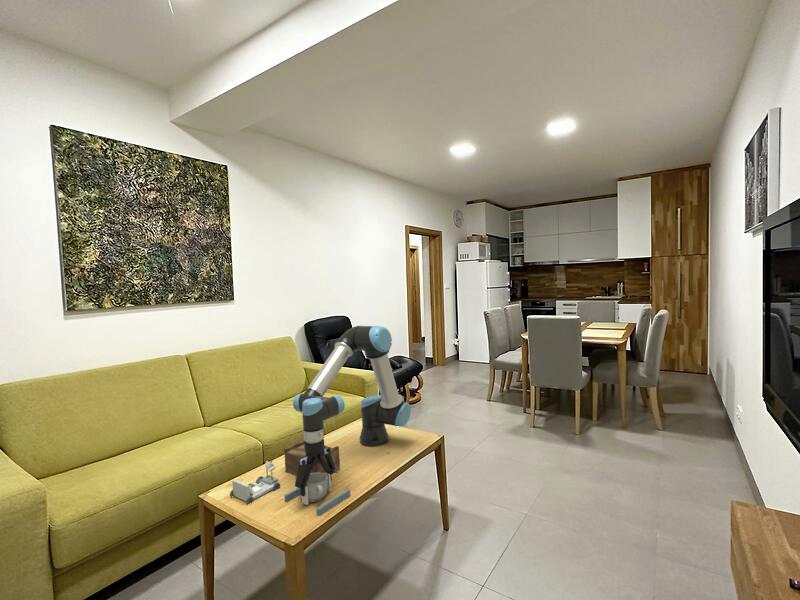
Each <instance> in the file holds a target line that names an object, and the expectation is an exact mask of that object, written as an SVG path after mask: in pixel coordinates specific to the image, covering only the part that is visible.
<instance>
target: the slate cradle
mask: <svg viewBox="0 0 800 600" xmlns="http://www.w3.org/2000/svg"><path fill="white" fill-rule="evenodd" d="M298 496H301V495H300V488H298V487H296V488H294V489H293V490H291V491H289V492H287V493H285V494H284V502H285V503H288V502H290V501H291V500H293V499H295V498H297V497H298ZM349 496H350V497H351V489H349V488H347V489H346V490H344V491H342V492H341V493H339V494H337V495H335V496H334V497H332V498H331V499H329V500H328V501H326V502H324V503H323V504H321V505H320V506H318V507H317V508H316V509H315V510H316V517H321V516H323V513H324V514H326V513H327V512H329V511H330V510H332V509H333V508H335V507H336V506H337V505H339V504H340V502H341V503H342V502H343V500H344V501H345V500H347V499H348V498H350V497H349ZM346 498H347V499H346ZM320 515H321V516H320Z"/></svg>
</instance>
